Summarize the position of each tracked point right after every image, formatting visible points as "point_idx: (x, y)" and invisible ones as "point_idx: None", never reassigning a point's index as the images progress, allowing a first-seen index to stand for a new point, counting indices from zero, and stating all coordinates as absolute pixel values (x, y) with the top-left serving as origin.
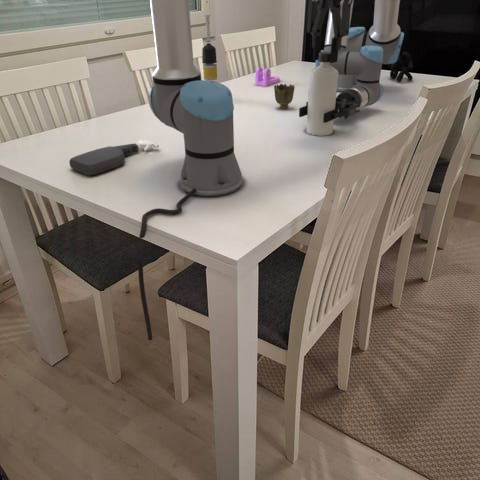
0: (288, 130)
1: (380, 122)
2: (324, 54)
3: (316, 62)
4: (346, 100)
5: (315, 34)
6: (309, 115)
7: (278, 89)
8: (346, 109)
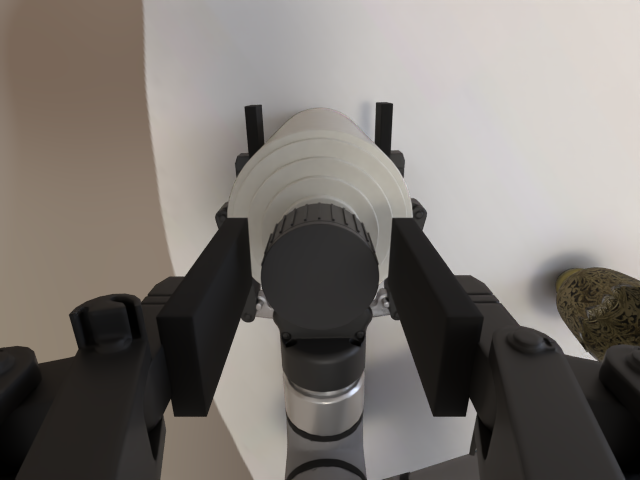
0: (415, 87)
1: (232, 351)
2: (294, 229)
3: None
4: None
5: (490, 347)
6: (340, 115)
7: (634, 284)
8: None
